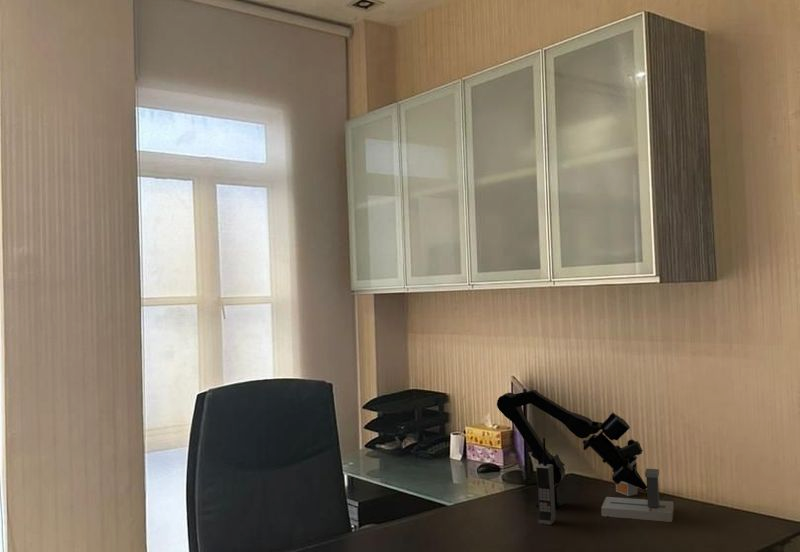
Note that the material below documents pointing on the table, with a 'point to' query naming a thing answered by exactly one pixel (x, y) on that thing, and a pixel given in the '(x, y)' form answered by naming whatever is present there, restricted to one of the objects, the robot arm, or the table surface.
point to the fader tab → (652, 487)
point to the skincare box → (626, 487)
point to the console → (637, 509)
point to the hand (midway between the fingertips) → (646, 488)
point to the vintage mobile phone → (546, 491)
